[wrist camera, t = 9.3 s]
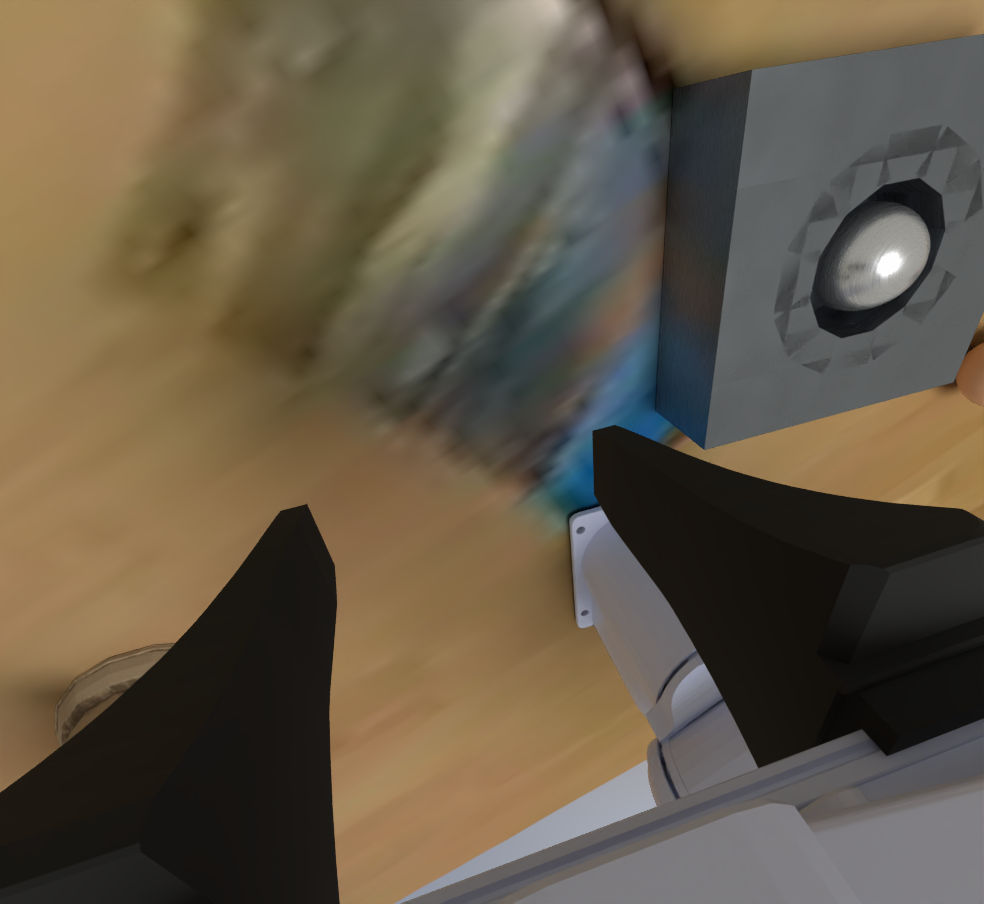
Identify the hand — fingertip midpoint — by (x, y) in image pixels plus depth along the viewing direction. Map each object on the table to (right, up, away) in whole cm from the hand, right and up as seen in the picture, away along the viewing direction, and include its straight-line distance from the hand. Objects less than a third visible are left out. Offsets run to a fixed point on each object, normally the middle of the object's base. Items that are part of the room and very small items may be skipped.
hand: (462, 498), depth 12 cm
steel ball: (+15, +9, +7) cm, 19 cm away
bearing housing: (+14, +10, +9) cm, 20 cm away
